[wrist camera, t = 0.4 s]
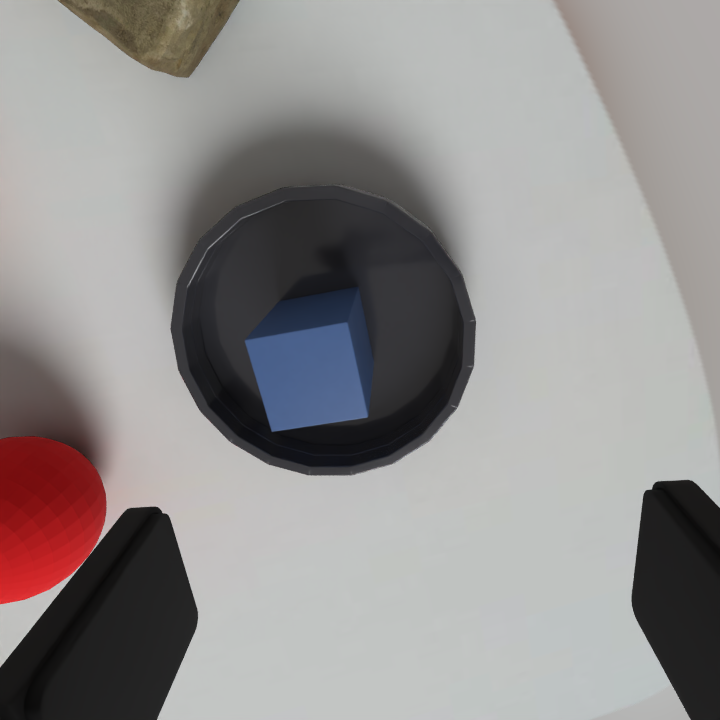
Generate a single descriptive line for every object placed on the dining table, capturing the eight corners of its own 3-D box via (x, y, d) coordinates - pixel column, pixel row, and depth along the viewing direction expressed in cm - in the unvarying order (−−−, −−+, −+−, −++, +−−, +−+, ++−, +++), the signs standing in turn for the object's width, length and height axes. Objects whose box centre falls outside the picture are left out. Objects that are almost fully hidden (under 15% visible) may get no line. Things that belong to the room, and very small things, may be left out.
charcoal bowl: (279, 120, 24) (264, 112, 21) (525, 294, 26) (541, 309, 23) (151, 360, 29) (124, 380, 26) (366, 489, 31) (363, 520, 28)
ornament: (9, 387, 30) (-165, 484, 21) (149, 443, 31) (42, 561, 21) (-10, 496, 33) (-169, 623, 24) (117, 544, 34) (12, 686, 25)
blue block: (278, 301, 26) (243, 339, 20) (358, 286, 26) (347, 321, 20) (298, 375, 28) (271, 432, 22) (374, 363, 27) (368, 417, 21)
